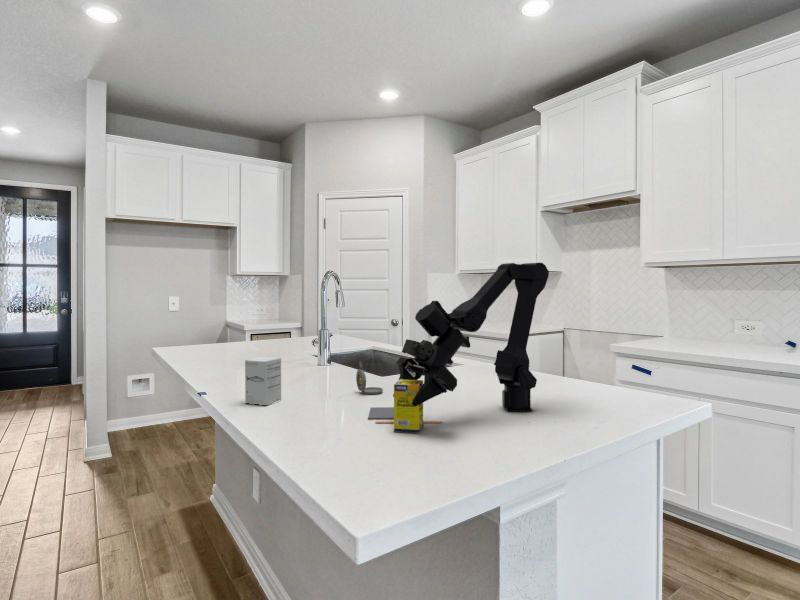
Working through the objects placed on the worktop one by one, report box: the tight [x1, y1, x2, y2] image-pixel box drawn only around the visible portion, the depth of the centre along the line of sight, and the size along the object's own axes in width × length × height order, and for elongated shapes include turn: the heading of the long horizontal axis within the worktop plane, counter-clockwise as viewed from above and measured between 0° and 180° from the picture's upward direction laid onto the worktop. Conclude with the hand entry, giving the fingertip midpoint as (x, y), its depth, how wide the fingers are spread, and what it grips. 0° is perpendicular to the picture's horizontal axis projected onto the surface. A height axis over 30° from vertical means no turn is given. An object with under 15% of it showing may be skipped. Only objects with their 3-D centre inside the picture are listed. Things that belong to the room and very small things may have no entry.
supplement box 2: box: [393, 379, 424, 434], centre depth 109 cm, size 6×6×11 cm
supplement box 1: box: [244, 356, 282, 406], centre depth 135 cm, size 7×7×13 cm
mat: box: [367, 406, 394, 421], centre depth 122 cm, size 12×10×1 cm
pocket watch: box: [355, 361, 384, 395], centre depth 146 cm, size 8×8×10 cm
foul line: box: [375, 420, 443, 425], centre depth 114 cm, size 16×1×1 cm, turn 90°
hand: (403, 401), depth 109 cm, fingers closed on supplement box 2, 8 cm apart
